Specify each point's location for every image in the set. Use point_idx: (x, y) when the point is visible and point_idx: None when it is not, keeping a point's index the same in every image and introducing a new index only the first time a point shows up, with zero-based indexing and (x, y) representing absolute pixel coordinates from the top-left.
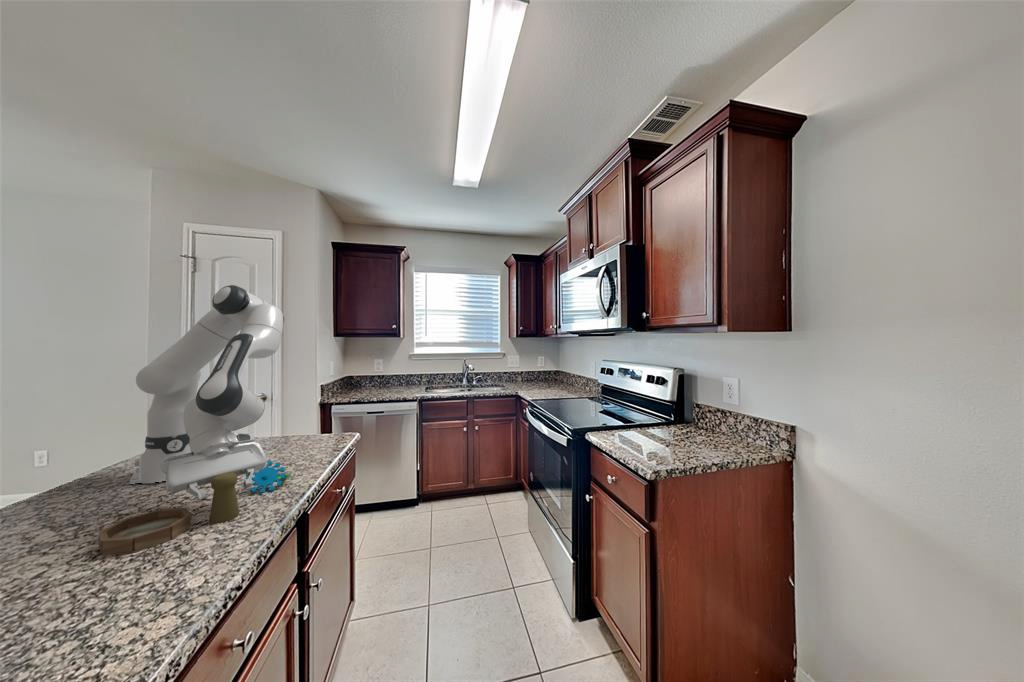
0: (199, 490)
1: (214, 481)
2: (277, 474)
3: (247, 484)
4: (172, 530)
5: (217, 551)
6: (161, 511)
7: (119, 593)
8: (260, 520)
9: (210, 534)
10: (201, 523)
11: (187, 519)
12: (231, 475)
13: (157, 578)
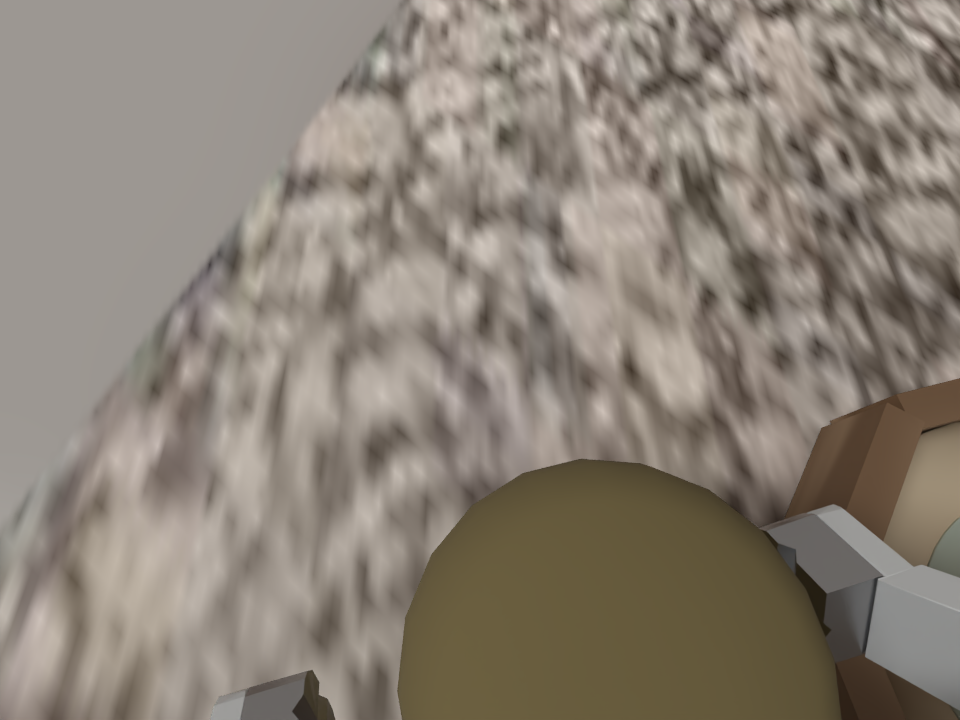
0: (914, 593)
1: (770, 543)
2: None
3: (289, 681)
4: (862, 414)
5: (547, 106)
6: None
7: (859, 11)
8: (314, 351)
9: (603, 344)
10: None
11: None
12: (502, 555)
13: (753, 33)
